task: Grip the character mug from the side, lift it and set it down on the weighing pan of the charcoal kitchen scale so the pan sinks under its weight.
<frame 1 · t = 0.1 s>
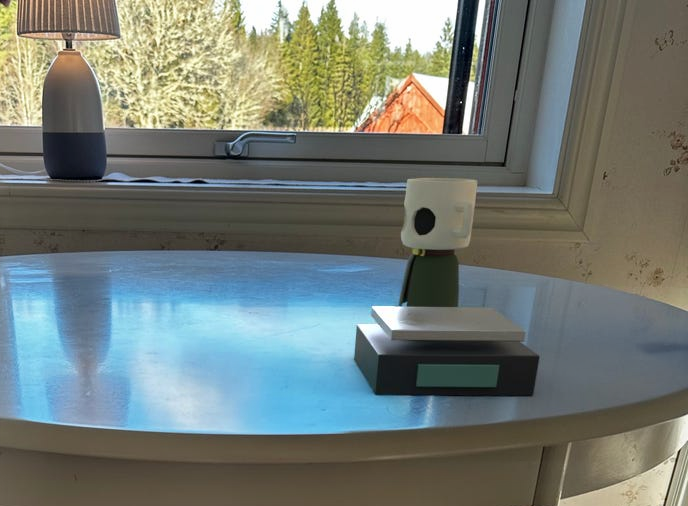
scale pan: (444, 323, 75), point 4 cm above the table, slide at 0.0 cm
scale: (437, 376, 77), on the table
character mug: (426, 315, 103), on the table
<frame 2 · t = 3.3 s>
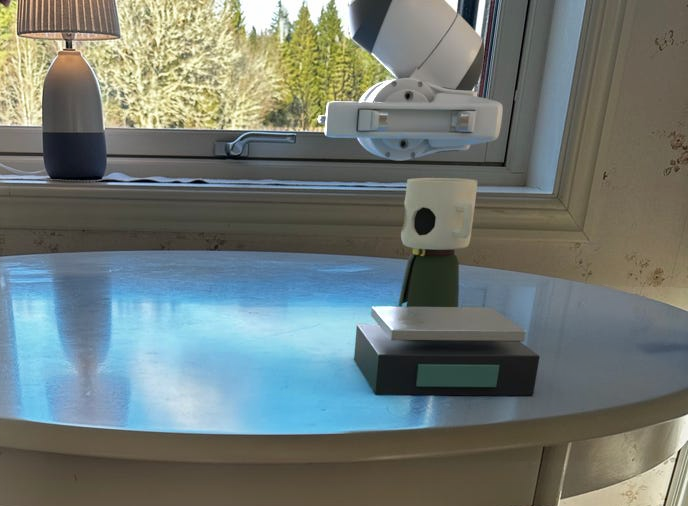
hand: (423, 121, 105), 18 cm above the table, tool horizontal, fingers open, 8 cm apart
nothing on the table moved.
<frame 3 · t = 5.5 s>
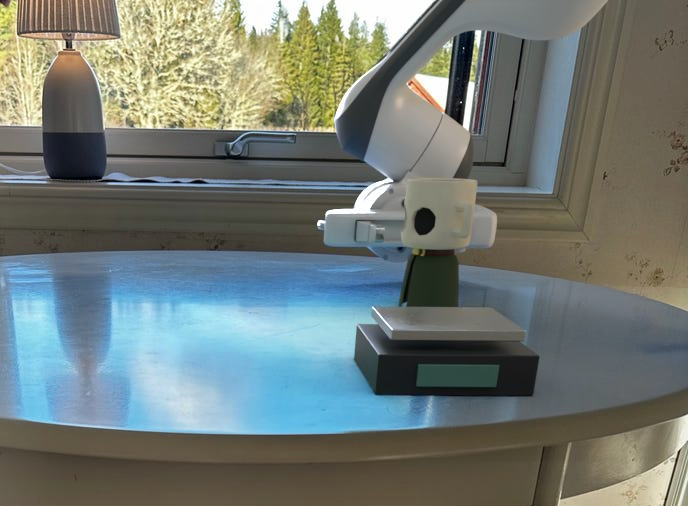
hand: (419, 235, 107), 7 cm above the table, tool horizontal, fingers open, 8 cm apart
nothing on the table moved.
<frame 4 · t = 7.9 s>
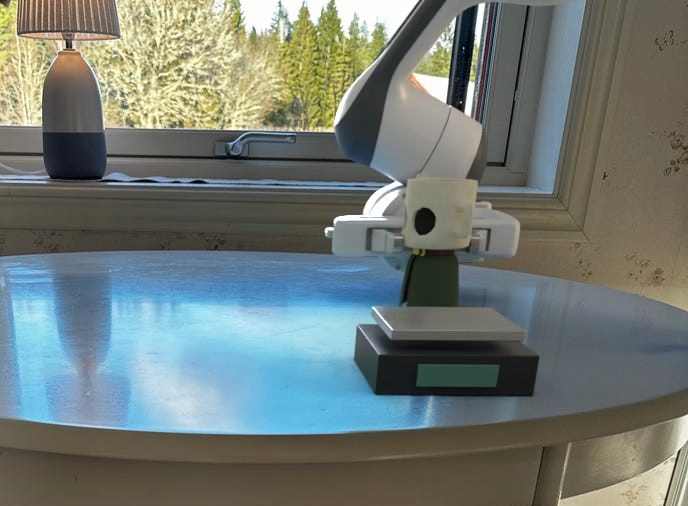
hand: (437, 244, 99), 7 cm above the table, tool horizontal, fingers closed on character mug, 7 cm apart
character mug: (426, 315, 103), on the table, touching gripper
everything else where it was.
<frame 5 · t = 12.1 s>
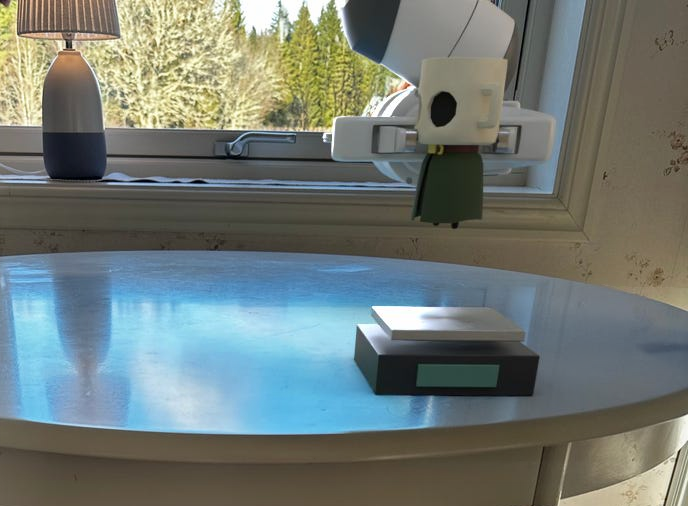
hand: (457, 140, 82), 17 cm above the table, tool horizontal, fingers closed on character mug, 7 cm apart
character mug: (444, 229, 86), point 10 cm above the table, touching gripper
everything else where it was.
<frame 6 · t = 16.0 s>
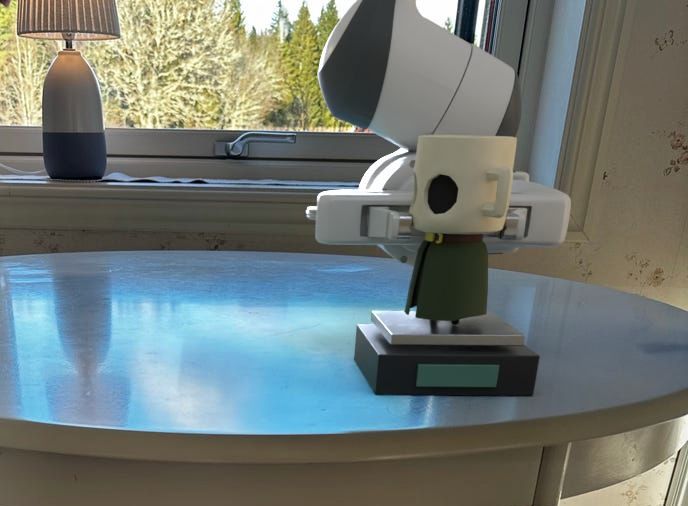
hand: (458, 227, 71), 11 cm above the table, tool horizontal, fingers closed on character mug, 7 cm apart
scale pan: (443, 327, 76), point 4 cm above the table, slide at -0.3 cm, touching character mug
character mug: (443, 324, 76), point 4 cm above the table, touching gripper, scale pan
when the fingers open (11 cm above the table, at t = 16.3 s): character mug stays where it is, resting on scale pan.
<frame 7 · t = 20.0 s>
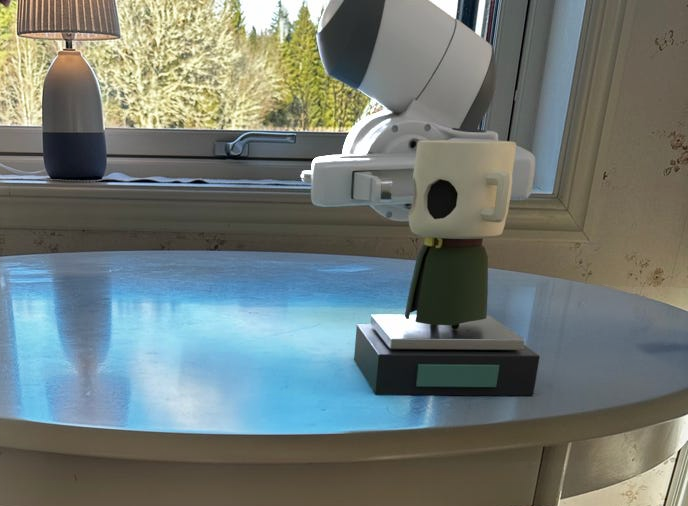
hand: (438, 189, 82), 13 cm above the table, tool horizontal, fingers open, 8 cm apart
scale pan: (443, 331, 76), point 4 cm above the table, slide at -0.6 cm, touching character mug
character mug: (443, 328, 76), point 4 cm above the table, touching scale pan
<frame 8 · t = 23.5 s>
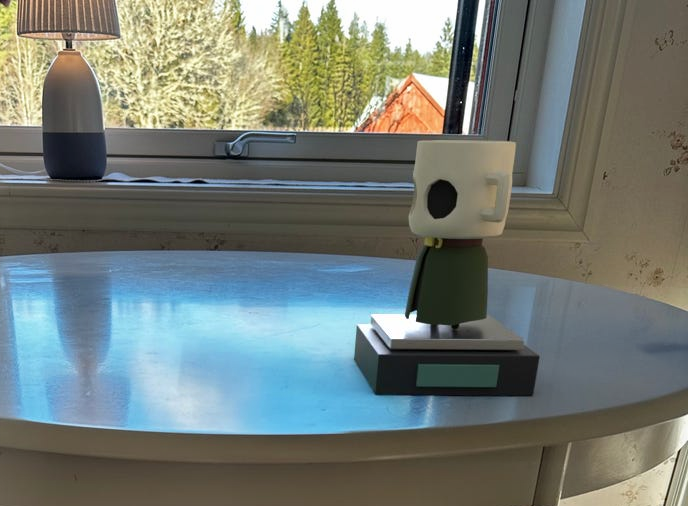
nothing on the table moved.
at the end: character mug 0.1 cm off-centre on the scale, point 3.8 cm above the scale's base; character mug tilted 0°; scale pan slide at -0.6 cm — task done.
